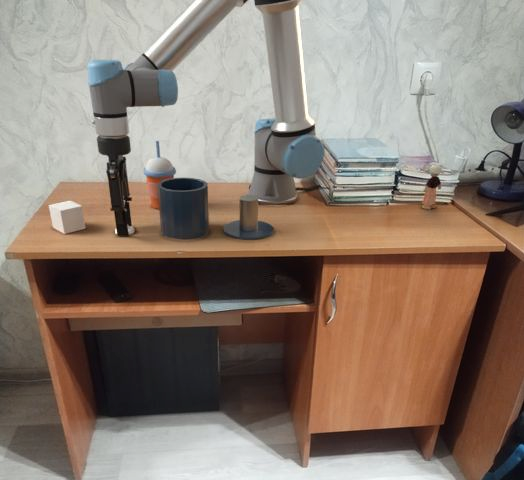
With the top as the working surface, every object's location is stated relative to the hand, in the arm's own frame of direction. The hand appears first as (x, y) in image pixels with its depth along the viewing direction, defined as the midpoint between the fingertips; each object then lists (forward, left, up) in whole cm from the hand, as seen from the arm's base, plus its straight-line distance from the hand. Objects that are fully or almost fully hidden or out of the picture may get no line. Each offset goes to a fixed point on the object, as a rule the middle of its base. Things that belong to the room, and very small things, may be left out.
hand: (124, 230), depth 134 cm
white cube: (+10, -11, 0) cm, 15 cm away
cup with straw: (-19, -12, 0) cm, 23 cm away
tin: (-12, +10, 0) cm, 16 cm away
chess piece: (0, 0, 0) cm, 0 cm away
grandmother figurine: (-82, +37, 0) cm, 90 cm away
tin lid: (-25, +20, 0) cm, 32 cm away
